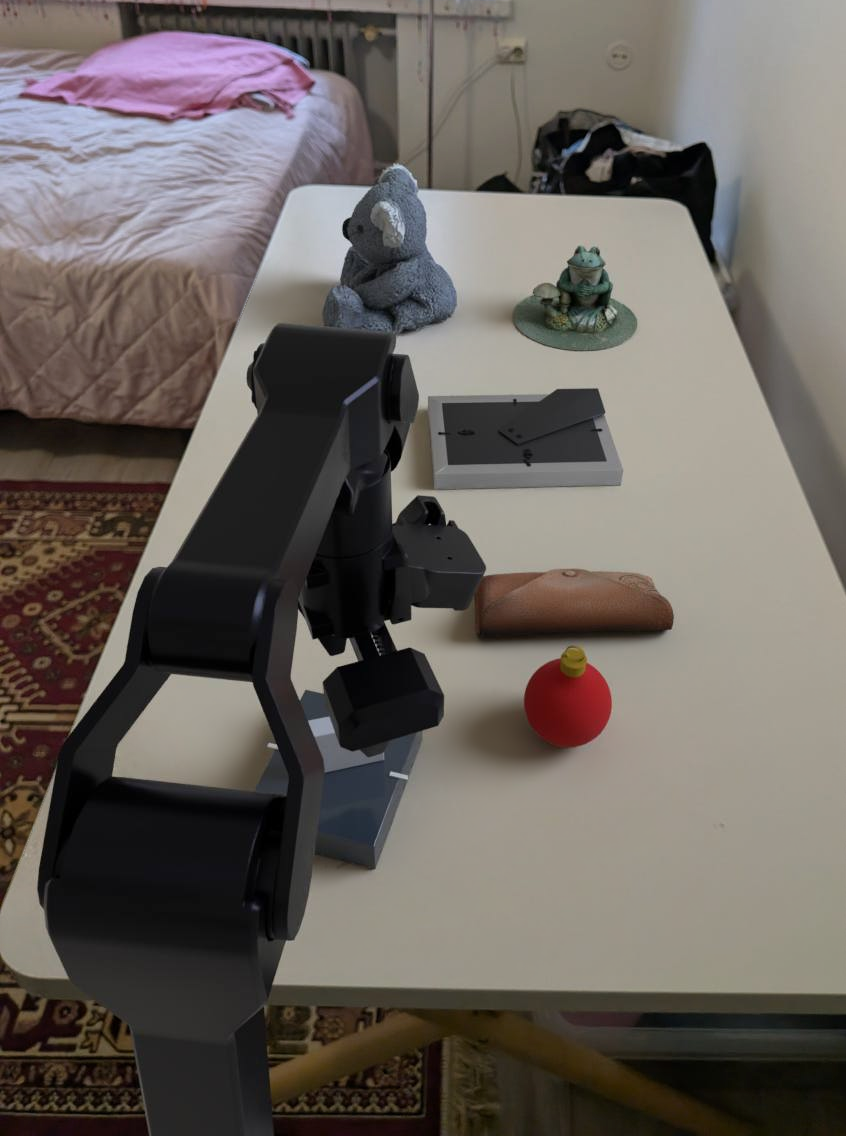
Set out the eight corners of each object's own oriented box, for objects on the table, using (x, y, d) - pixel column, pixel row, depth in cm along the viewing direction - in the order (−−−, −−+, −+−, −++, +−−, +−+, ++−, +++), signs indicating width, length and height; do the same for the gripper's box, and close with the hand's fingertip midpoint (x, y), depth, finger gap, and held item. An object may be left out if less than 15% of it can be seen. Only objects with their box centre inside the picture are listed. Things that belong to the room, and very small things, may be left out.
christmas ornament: (615, 711, 81) (631, 629, 75) (593, 777, 76) (608, 694, 70) (536, 686, 83) (545, 604, 77) (509, 749, 78) (516, 665, 72)
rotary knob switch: (383, 872, 69) (382, 847, 67) (239, 835, 71) (233, 810, 69) (429, 740, 78) (430, 715, 76) (301, 711, 80) (298, 686, 78)
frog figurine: (505, 343, 130) (510, 263, 123) (519, 286, 144) (524, 211, 137) (636, 357, 129) (648, 277, 122) (638, 297, 143) (649, 223, 136)
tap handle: (291, 780, 71) (286, 740, 68) (289, 762, 72) (283, 722, 69) (384, 760, 73) (382, 720, 70) (380, 743, 74) (378, 703, 71)
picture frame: (595, 407, 119) (427, 410, 117) (598, 388, 117) (427, 390, 115) (621, 485, 106) (434, 489, 104) (624, 464, 105) (434, 468, 103)
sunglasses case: (651, 570, 94) (669, 550, 88) (660, 641, 92) (679, 625, 86) (470, 577, 93) (474, 556, 87) (474, 648, 90) (479, 633, 84)
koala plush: (344, 281, 143) (337, 150, 131) (463, 290, 143) (467, 159, 130) (318, 337, 130) (307, 196, 118) (449, 348, 129) (452, 207, 117)
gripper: (536, 599, 51) (518, 774, 61) (421, 415, 65) (421, 583, 74) (334, 653, 48) (349, 830, 57) (256, 447, 61) (279, 618, 71)
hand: (354, 700), depth 65 cm, fingers open, 9 cm apart
